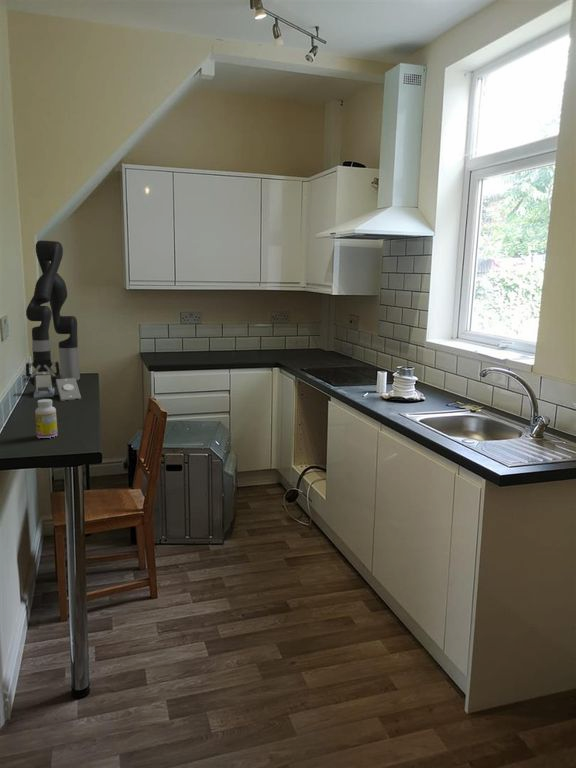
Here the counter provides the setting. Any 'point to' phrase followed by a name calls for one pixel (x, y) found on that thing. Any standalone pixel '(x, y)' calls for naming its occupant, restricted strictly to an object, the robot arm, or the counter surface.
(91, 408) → the counter surface
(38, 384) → the block
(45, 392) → the din rail
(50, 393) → the plate
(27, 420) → the counter surface
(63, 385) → the light switch
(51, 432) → the supplement bottle
